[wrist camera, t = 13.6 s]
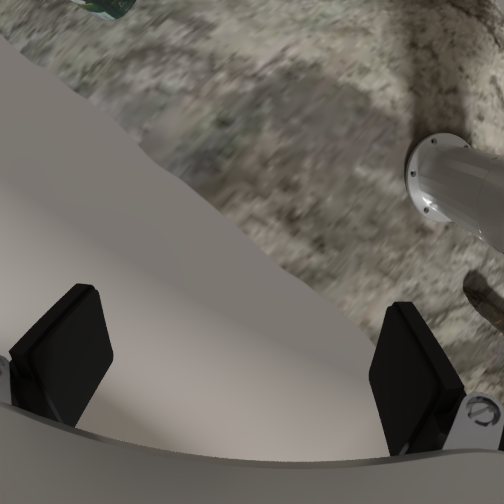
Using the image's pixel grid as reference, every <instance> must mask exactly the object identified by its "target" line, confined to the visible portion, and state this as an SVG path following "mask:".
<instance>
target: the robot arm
mask: <svg viewBox="0 0 504 504" xmlns="http://www.w3.org/2000/svg"><path fill="white" fill-rule="evenodd" d="M431 140H432V142H431ZM411 171H412V174H411ZM406 187H407V192H408V195H409V198H410V200H411V202H412V203H413V205H414V207H415V208H416V209H417V210H418V211H419V212H420V213H421V214H423V215H424V216H425V217H427V218H429V219H430V220H433V221H436V222H450V221H454V222H455V223H457V224H458V225H460V226H462V227H463V228H465V229H466V230H468V231H469V232H471V233H472V234H474V235H475V236H477V237H478V238H479V239H481V240H482V241H484V242H485V243H487V244H488V245H490V246H491V247H493V248H494V249H496V250H497V251H499V252H500V253H502V254H504V156H502V155H498V154H493V153H489V152H484V151H480V150H475V149H472V148H471V147H470V145H469V144H468V143H467V142H466V141H465V140H463V139H462V138H460V137H458V136H456V135H453V134H449V133H436V134H432V135H430V136H428V137H426V138H424V139H423V140H422V141H420V142H419V143H418V144H417V146H416V147H415V148H414V149H413V151H412V153H411V155H410V157H409V160H408V163H407V167H406ZM424 208H425V210H424ZM9 353H10V355H11V357H12V360H11V361H10V362H9V361H8V360H7V359H6V358H5V357H3V356H1V355H0V504H504V409H503V406H502V405H501V404H500V402H499V401H498V400H497V399H495V398H494V397H492V396H491V395H489V394H485V393H482V392H474V393H471V394H468V395H466V393H465V391H464V385H463V383H462V381H461V380H460V378H459V376H458V374H457V373H456V371H455V369H454V368H453V366H452V364H451V363H450V361H449V359H448V358H447V356H446V354H445V353H444V351H443V349H442V348H441V346H440V345H439V343H438V341H437V340H436V338H435V337H434V335H433V333H432V332H431V330H430V329H429V327H428V326H427V324H426V323H425V321H424V319H423V318H422V316H421V315H420V313H419V312H418V310H417V309H416V307H415V306H414V304H413V303H412V302H394V303H393V304H392V306H389V307H388V308H387V310H386V314H385V318H384V321H383V325H382V329H381V333H380V336H379V340H378V343H377V347H376V350H375V354H374V357H373V360H372V363H371V367H370V370H369V382H370V385H371V388H372V392H373V395H374V398H375V402H376V405H377V409H378V412H379V416H380V419H381V423H382V427H383V430H384V434H385V438H386V441H387V445H388V449H389V453H390V457H381V458H370V459H359V460H345V461H321V462H278V461H276V462H275V461H255V460H240V459H228V458H218V457H209V456H202V455H194V454H187V453H181V452H175V451H169V450H163V449H158V448H153V447H148V446H143V445H138V444H134V443H129V442H125V441H120V440H117V439H113V438H108V437H105V436H102V435H98V434H94V433H91V432H87V431H84V430H81V429H77V428H75V426H76V424H77V422H78V420H79V419H80V417H81V415H82V413H83V411H84V410H85V408H86V406H87V404H88V403H89V401H90V399H91V397H92V396H93V394H94V392H95V391H96V389H97V387H98V385H99V384H100V382H101V380H102V379H103V377H104V375H105V374H106V372H107V370H108V368H109V367H110V365H111V363H112V361H113V350H112V347H111V343H110V339H109V335H108V331H107V327H106V322H105V318H104V314H103V309H102V305H101V300H100V295H99V292H98V291H97V290H95V288H94V286H93V285H88V284H76V285H74V286H73V287H72V288H71V289H70V290H69V291H68V292H67V293H66V294H65V295H64V296H63V297H62V298H61V299H60V300H59V301H57V302H56V304H54V305H53V306H52V307H51V308H50V309H49V310H48V311H47V312H46V314H44V315H43V316H42V317H41V318H40V319H39V320H38V321H37V322H36V323H35V324H34V325H33V326H32V327H31V328H30V329H29V330H28V331H27V332H26V334H25V335H24V336H23V337H22V338H21V339H20V340H19V341H18V342H17V343H16V344H15V345H14V346H13V347H12V348H11V349H10V350H9Z"/></svg>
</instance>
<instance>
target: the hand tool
mask: <svg viewBox="0 0 504 504" xmlns="http://www.w3.org/2000/svg"><path fill="white" fill-rule="evenodd" d="M463 291H464V293H465V295H466V297H467V298H468V301H469V302H470V303H471V304H472V306H473V307H474V308H475V309H476V311H478V312H479V314H480V315H481V316H482V317H484V318H486V319H487V320H488V321H489V322H490V323H491V324H492V325H493V326H495V327H496V328H497V329H498V330H499V331H500V332H501V333H503V334H504V312H502V311H501V310H500V309H499V308H497V307H496V306H495V305H494V304H493V303H492V302H490V301H489V300H488V299H487V298H486V297H485V296H483V295H482V294H480V293H479V292H477V291H474V290H472V289H468V288H463Z"/></svg>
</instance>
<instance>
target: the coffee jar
mask: <svg viewBox="0 0 504 504" xmlns="http://www.w3.org/2000/svg"><path fill="white" fill-rule="evenodd" d="M71 1H73V2H74V3H76V4H77V5H79V6H80V7H81V8H83V9H84V10H86V11H87V12H89V13H90V14H92V15H94V16H96V17H98V18H101V19H105V20H115V19H118V18H120V17H122V16H124V15H125V14H126V13H127V12H128V10H129V9H130V8H131V7H132V5H133V4H134V3H135V2H136V0H71Z"/></svg>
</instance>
